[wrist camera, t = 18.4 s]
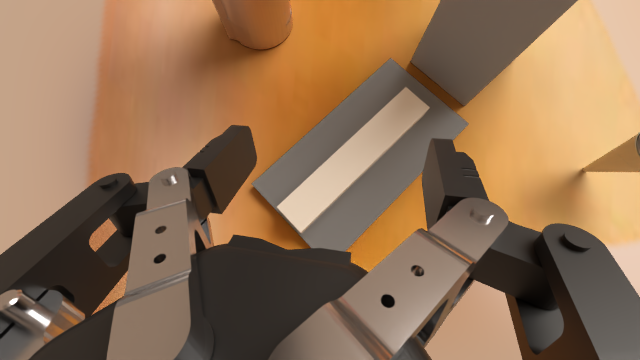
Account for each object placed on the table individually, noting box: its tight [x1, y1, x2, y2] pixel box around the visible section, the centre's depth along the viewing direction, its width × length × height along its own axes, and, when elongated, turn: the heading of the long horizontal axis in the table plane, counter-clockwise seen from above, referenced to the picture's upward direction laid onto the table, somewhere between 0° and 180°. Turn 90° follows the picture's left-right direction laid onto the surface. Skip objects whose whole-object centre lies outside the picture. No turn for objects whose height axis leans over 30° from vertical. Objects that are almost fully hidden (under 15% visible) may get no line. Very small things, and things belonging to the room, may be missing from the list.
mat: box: [252, 58, 468, 252], centre depth 35 cm, size 26×14×1 cm, turn 134°
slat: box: [277, 87, 430, 233], centre depth 33 cm, size 22×4×2 cm, turn 134°
